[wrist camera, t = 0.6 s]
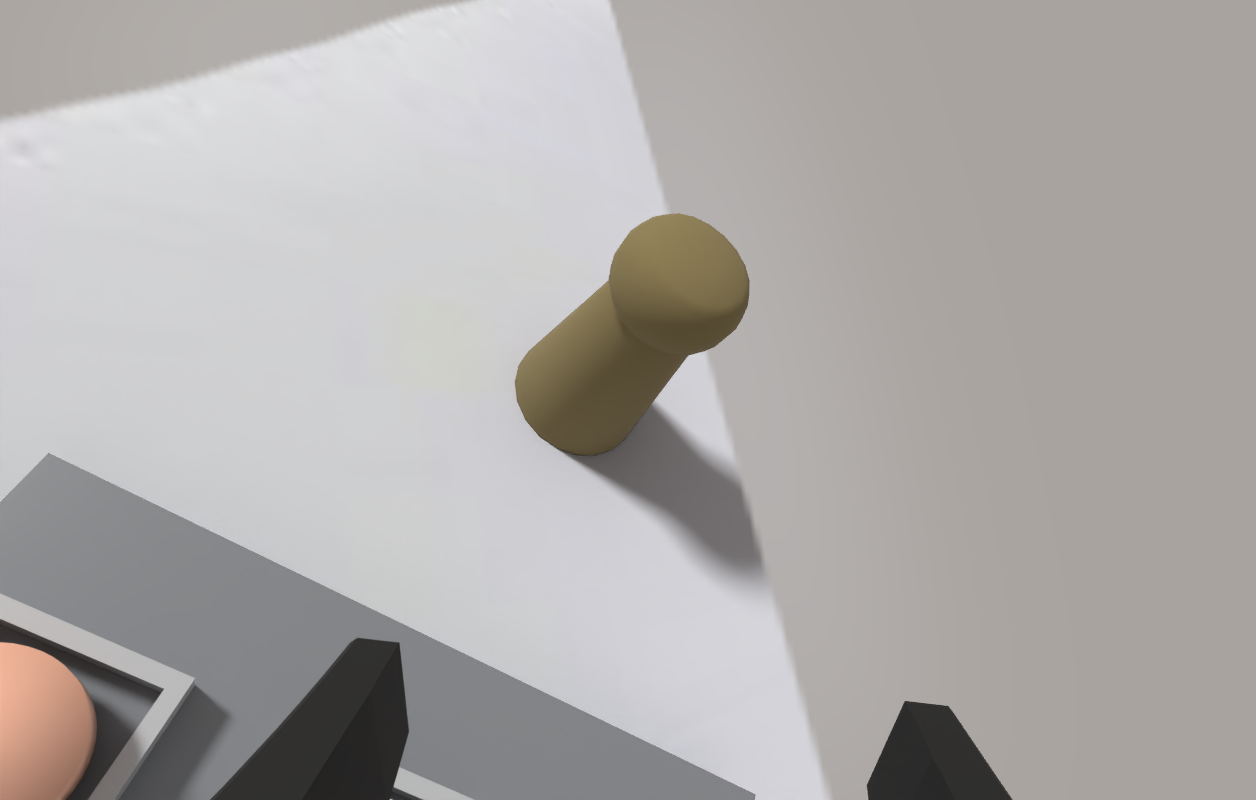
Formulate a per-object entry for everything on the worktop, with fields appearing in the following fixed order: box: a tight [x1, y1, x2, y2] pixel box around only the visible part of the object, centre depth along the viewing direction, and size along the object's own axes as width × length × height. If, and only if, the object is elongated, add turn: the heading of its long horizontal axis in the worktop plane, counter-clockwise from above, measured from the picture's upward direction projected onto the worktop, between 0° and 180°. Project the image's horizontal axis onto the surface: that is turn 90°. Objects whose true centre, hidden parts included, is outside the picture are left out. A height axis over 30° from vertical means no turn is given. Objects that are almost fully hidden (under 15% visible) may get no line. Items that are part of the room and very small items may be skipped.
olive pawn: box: [515, 214, 749, 455], centre depth 29 cm, size 6×6×11 cm
